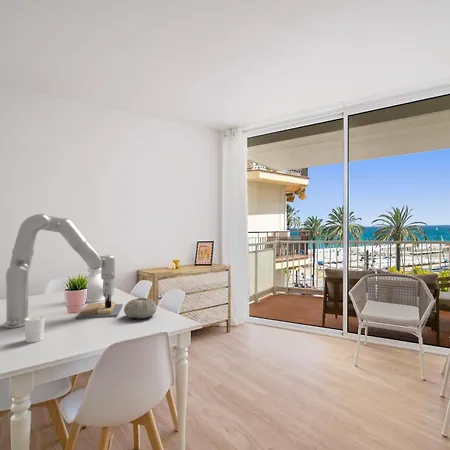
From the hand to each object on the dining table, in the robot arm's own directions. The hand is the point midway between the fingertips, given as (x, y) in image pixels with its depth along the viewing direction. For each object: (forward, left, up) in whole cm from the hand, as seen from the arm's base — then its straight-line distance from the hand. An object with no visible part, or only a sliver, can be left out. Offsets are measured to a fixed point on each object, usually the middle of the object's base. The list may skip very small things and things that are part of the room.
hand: (108, 307), depth 188 cm
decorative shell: (-12, -19, -4) cm, 23 cm away
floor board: (+4, +5, -3) cm, 7 cm away
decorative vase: (+38, +15, -4) cm, 41 cm away
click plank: (+4, +2, -2) cm, 5 cm away
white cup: (-41, +25, -4) cm, 48 cm away
